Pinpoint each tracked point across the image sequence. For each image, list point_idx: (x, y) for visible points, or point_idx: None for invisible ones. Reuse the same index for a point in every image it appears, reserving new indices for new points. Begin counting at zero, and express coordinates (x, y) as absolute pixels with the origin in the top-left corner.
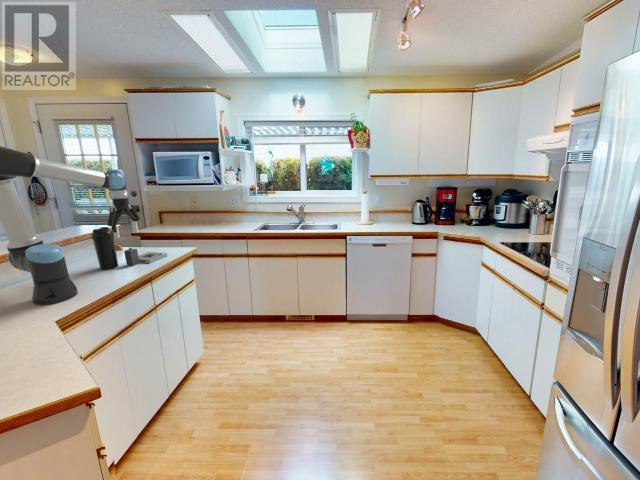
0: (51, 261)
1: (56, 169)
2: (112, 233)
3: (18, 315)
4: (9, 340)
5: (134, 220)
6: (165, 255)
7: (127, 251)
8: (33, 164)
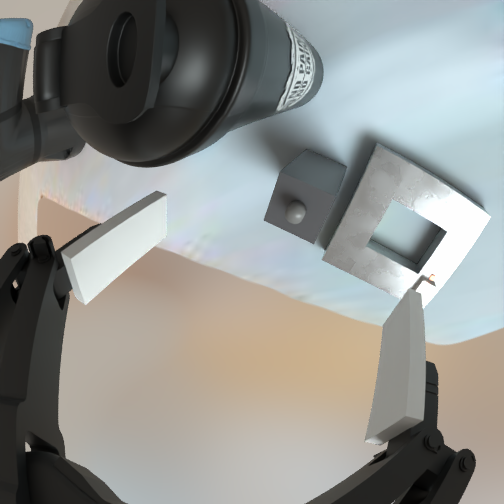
0: None
1: None
2: (155, 166)
3: None
4: (21, 176)
5: (394, 447)
6: None
7: (272, 196)
8: None
